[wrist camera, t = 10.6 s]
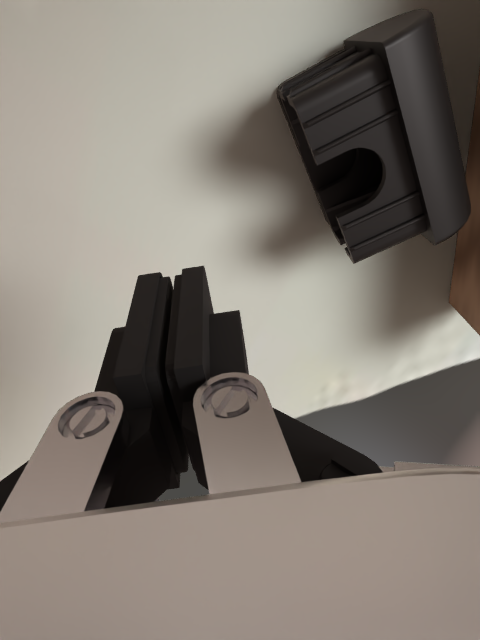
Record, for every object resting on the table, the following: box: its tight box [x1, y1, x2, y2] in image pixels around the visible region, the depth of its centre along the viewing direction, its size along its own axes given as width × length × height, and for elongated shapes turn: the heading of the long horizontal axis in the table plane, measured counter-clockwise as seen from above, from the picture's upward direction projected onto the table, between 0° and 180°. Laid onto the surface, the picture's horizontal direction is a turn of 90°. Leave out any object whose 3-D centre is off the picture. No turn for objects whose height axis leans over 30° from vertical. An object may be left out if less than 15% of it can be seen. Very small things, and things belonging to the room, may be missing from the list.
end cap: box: [277, 9, 471, 264], centre depth 24 cm, size 10×7×7 cm
